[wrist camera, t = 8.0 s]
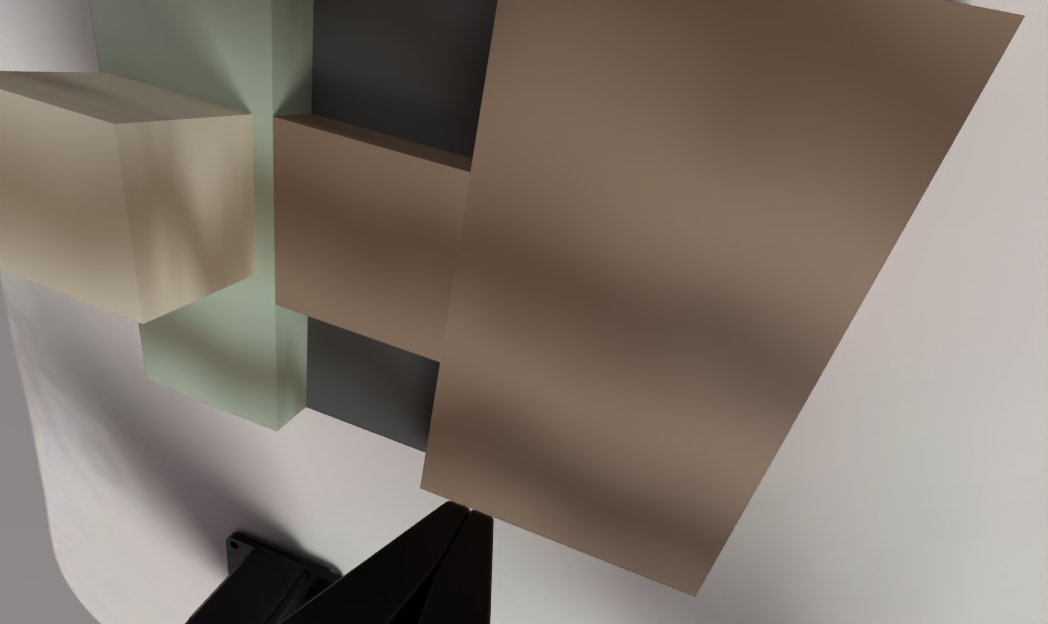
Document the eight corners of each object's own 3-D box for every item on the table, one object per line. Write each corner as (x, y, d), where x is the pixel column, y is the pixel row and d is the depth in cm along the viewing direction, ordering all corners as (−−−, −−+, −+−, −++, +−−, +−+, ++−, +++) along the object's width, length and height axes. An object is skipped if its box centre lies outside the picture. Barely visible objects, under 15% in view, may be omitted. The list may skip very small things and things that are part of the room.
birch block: (256, 273, 17) (142, 324, 13) (131, 230, 18) (-7, 267, 14) (251, 114, 15) (114, 123, 11) (108, 73, 15) (-63, 70, 12)
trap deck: (694, 548, 19) (694, 596, 17) (189, 356, 22) (147, 380, 21) (971, 26, 11) (1025, 15, 9) (138, -140, 15) (63, -171, 13)
